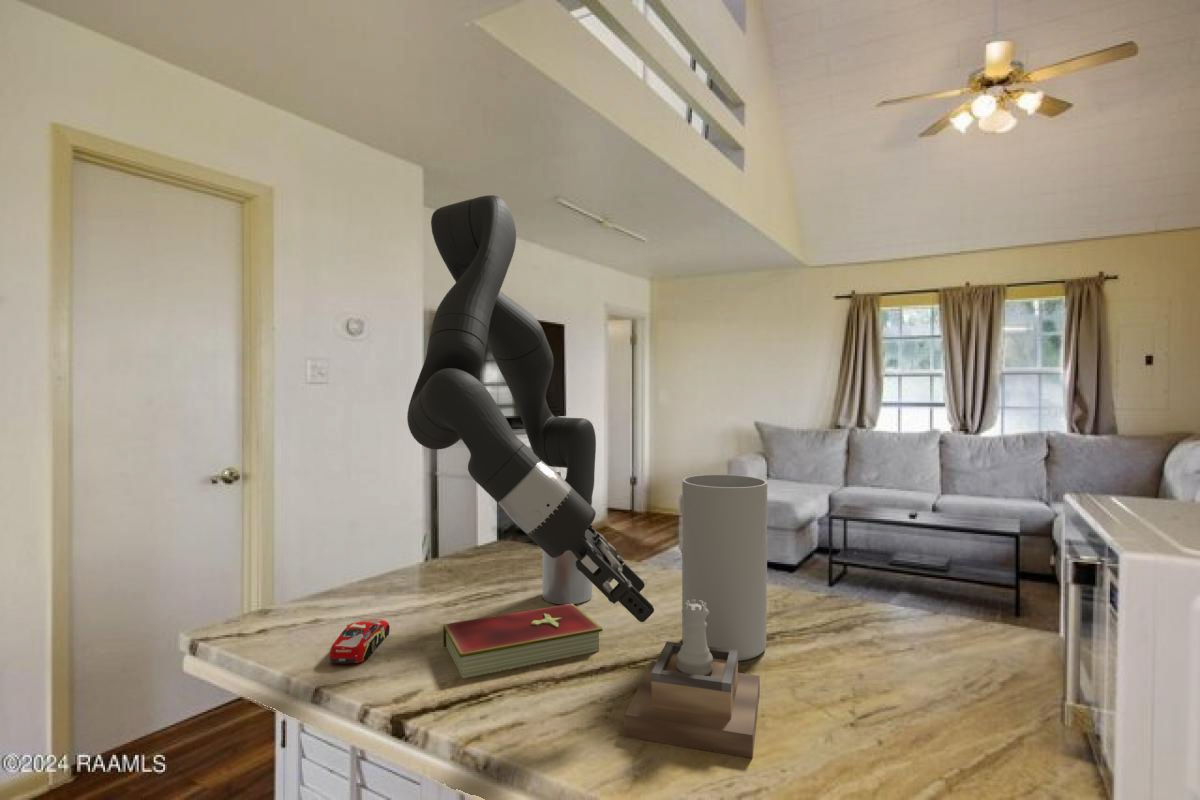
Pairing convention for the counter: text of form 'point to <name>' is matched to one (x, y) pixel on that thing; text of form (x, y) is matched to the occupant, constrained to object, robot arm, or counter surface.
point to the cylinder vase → (727, 558)
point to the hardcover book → (520, 639)
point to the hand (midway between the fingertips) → (643, 602)
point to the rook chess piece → (695, 641)
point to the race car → (359, 641)
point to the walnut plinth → (695, 723)
